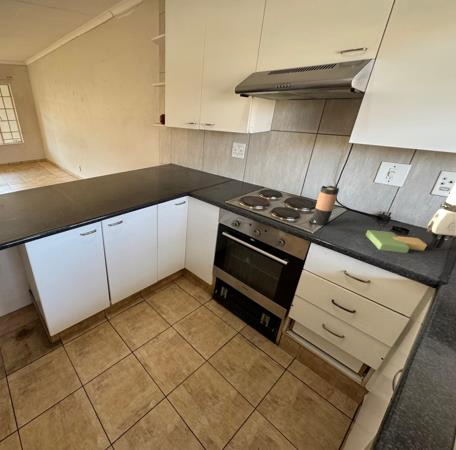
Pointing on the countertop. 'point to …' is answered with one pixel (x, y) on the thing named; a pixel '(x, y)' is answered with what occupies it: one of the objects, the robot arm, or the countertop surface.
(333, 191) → the travel mug
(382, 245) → the green pad
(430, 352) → the countertop surface
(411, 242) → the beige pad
